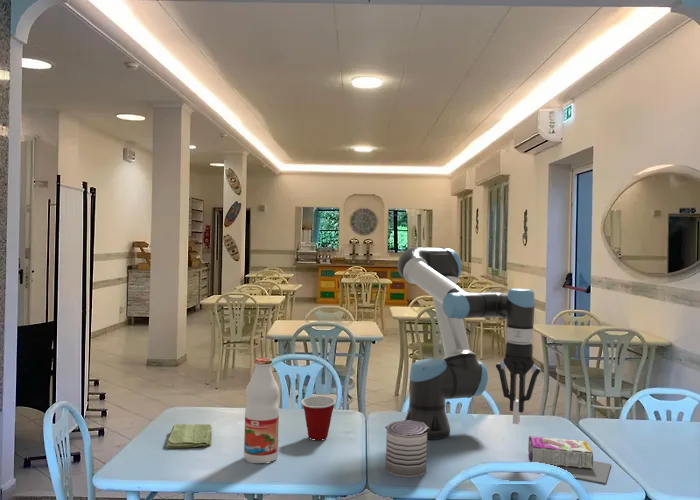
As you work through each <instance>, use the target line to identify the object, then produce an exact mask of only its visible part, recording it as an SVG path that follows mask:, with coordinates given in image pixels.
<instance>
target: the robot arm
mask: <svg viewBox="0 0 700 500" xmlns="http://www.w3.org/2000/svg"><path fill="white" fill-rule="evenodd" d="M462 265H463V264H462V261H461V257H460V256H459V253H458V252H457V251H456V250H453V249H452V248H449V247H448V248H447V247H440V246H439V247H421V246H419V247H418V246H416V247H410V248H408V249H406V250H405V251H404V252H402V254H400V257H398V261H397V269H398V273H399V275H400V276H401V278H403V280H405V281H406V282H407V283H409V284H411V285H412V284H415V285H416V286H418V287H419V288H420V289H422V290H423V291H424V292H425V293H426V294H428V295H429V296H431V297H432V299H433V304H434V308H435V315H436V318H437V323H438V327H439V332H440V337H441V341H442V346H443V347H442V348H443V350H444V357H442V358H426V359H425V358H424V359H420V360H417V361H415V362H413V363H412V364H411V366H410V371H409V396H408V397H409V399H408V400H409V405H408V410H407V413H406V415H405V419H404V421H405V420H412V421H418V422H424V423H425V424H426V425H427V426H428V427H429V428H428V429H427V440H441V439H445V438H448V437H449V436H450V435H451V426H450V422H449V420H448V415H447V412H446V400H453V399H465V398H466V399H471V398H473V397H474V398H475V397H478V396H481V395H483V393H484V392H485V391H486V389H487V387H488V381H489V373H488V369H487V366H486V365H485V364H484V363H483V362H482V361H480V360H478V359H477V355H476V353H475V352H473V351H472V350H471V349H470V344H469V340H468V336H467V332H466V327H465V323H464V319H476V318H477V319H478V318H479V319H481V318H482V319H483V318H484V319H485V318H498V319H499V318H500V319H506V334H505V335H506V336H505V339H506V342H505V355H504V356H505V357H504V358H503V361H501V362H497V364H496V363H495V364H496V365H495V367H496V370H497V371H498V373H499V379H500V385H501V389H502V393H503V397H504V398H506V399H508V400H509V411H510V412H512V424H514V425H519V424H520V423H521V422H520V421H521V413H524V411H525V401H530V399H532V396H533V391H534V389H535V385H536V382H537V378H538V376H539V374H540V373H541V372H542V368H541V367H538V366H537V365H536V364H535V362H534V360H533V359H534V358H533V350H534V345H533V344H532V342H533V341H534V321H535V306H536V303H535V292H534V290H532V289H528V288H519V287H518V288H509V289H508V291H507V293H505V292H499V291H493V290H492V291H486V292H468V291H466V290H465V289H464V288H462V287H460V286H458V285H457V283H458V281H459V277H460V276H461V274H462V270H461V269H462ZM505 369H507V370H508V372H510V373H509V375H510V383H509V385H508V380H507V379H508V378H507V374H506V370H505ZM530 370H531V373H532V375H531V378H530V381H529V384H528V388H527V391H526V376H527V374H528V372H529V371H530ZM517 375H518V377H519V382H518V383H519V384H518V387H519V388H518V399H517V395H516V394H517ZM509 386H510V387H509Z"/></svg>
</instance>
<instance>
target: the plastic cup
mask: <svg viewBox="0 0 700 500" xmlns="http://www.w3.org/2000/svg"><path fill="white" fill-rule="evenodd" d="M336 402H337V401H336V399H335V398H333V397H332V396H328V395H311V396H308V397H305V398H302V400H301V401H300V403H301V405H302V408H303V411H304V416H305V424H306V429H307V436H308V438H311V439H315V440H321V441H323V440H322V439H325V440H327V439H326V438H328V436H329V430H330V427H331V420H332V415H333V411H334V408H335V407H334V406H335V404H336ZM311 439H310V440H311ZM315 440H314V441H315Z"/></svg>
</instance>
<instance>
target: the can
mask: <svg viewBox="0 0 700 500" xmlns="http://www.w3.org/2000/svg"><path fill="white" fill-rule="evenodd" d="M384 428H385V429H386V443H385V444H386V445H385V451H386V452H385V472H386V471H387V472H386V473H388V472H389V474H390V473H391V474H390V475H392V474H393V475H392V476H394V475H395V476H396V477H400V476H401V478H407V477H408V478H416V477H418V478H419V477H422V476H423V475H424V474H427V453H428V451H427V450H428V439H427V429H428V428H429V427H428V426H427V425H426V424H425V423H424V422H418V421H412V420H405V419H404V420H399V421H397V420H396V421H392V422H390V423H389V424H388V425H386V426H384Z"/></svg>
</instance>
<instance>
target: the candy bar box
mask: <svg viewBox="0 0 700 500" xmlns="http://www.w3.org/2000/svg"><path fill="white" fill-rule="evenodd" d="M527 443H528V444H527V445H528V448H527V451H528V455H529V459H530V463H531V462H539V463H545V464H550V465H554V466H564V467H575V468H586V469H593V461H594V453H593V450H592V448H591V447H590V445H589V444H588V441H587V440H581V439H579V440H578V439H568V438H567V439H566V438H554V437H543V436H542V437H541V436H535V435H534V436H532V435H529V436H528V442H527Z"/></svg>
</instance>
